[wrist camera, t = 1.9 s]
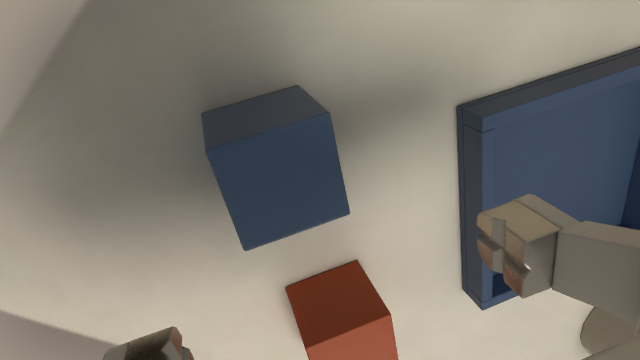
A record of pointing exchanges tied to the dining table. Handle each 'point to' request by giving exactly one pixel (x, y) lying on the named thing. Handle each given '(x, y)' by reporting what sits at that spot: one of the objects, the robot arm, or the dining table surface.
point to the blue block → (275, 165)
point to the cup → (605, 330)
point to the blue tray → (551, 155)
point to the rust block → (342, 316)
